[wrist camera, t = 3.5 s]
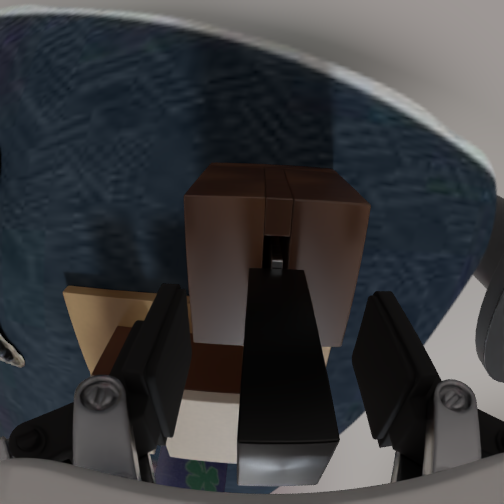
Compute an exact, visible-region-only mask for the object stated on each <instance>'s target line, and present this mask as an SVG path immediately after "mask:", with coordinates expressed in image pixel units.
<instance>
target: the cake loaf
mask: <svg viewBox="0 0 504 504" xmlns="http://www.w3.org/2000/svg"><path fill="white" fill-rule="evenodd" d="M190 338H191V347H192V358H191V363H190V367H189V371H188V375H187V379H186V384H185V388H184V392H183V396H182V401H181V405H180V409H179V414H178V418H177V423H176V427H175V432H174V436H173V437H172V438H169V437H167V441H166V447H167V450H168V453H169V455H170V457H175V458H182V459H190V460H199V461H209V462H220V463H235V464H237V431H238V416H239V402H240V387H241V373H242V359H243V346H242V345H224V344H208V343H195V342H193V333H190Z"/></svg>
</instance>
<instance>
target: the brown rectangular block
mask: <svg viewBox="0 0 504 504" xmlns="http://www.w3.org/2000/svg"><path fill="white" fill-rule="evenodd" d="M131 328H132V327H124V326H117V327H116V329H115V331H114V333H113V335H112V336H111V338H110V340H109V342H108V344H107V346H106V347H105V349H104V351H103V353H102V355H101V357H100V359H99V361H98V362H97V364H96V366H95V368H94V370H93V372H92V374H91V376H95V375H109V374H110V372H111V370H112V367H113V365H114V363H115V361H116V359H117V357H118V355H119V353H120V351H121V349H122V347H123V345H124V343H125V340H126V338H127V336H128V334H129V332H130V330H131ZM91 376H90V377H91ZM155 450H156V449H154V450H153V451H151V452H150V454H155Z"/></svg>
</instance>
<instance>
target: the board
mask: <svg viewBox="0 0 504 504" xmlns="http://www.w3.org/2000/svg"><path fill="white" fill-rule="evenodd" d="M63 295H64V299H65V302H66V305H67V309H68V312H69V315H70V318H71V321H72V324H73V327H74V330H75V333H76V336H77V339H78V342H79V345H80V347H81V350H82V353H83V355H84V358H85V361H86V363H87V366H88V368H89V371H90V373H91V374H92V372H93V370H94V368H95V366H96V364H97V362H98V361H99V359H100V357H101V355H102V353H103V351H104V349H105V347H106V346H107V344H108V342H109V340H110V338H111V336H112V335H113V333H114V331H115V329H116V327H117V326H124V327H132V326H133V324H134V323H135V321H137V320H143V321H144V320H145V317H146V315H147V313H148V311H149V309H150V307H151V305H152V303H153V301H154V299H155V297H156V295H157V293H144V292H131V291H120V290H109V289H98V288H88V287H78V286H67V288H66V289H65V290H64V291H63ZM187 307H188V318H189V328H190V333H192V323H191V312H190V299H189V296H187ZM330 348H331V347H322V351H323V356H324V360H325V365H326V364H327V360H328V356H329V352H330Z"/></svg>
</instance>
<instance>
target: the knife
mask: <svg viewBox="0 0 504 504" xmlns="http://www.w3.org/2000/svg"><path fill="white" fill-rule="evenodd" d="M265 261H266V268H249V274H248V288H247V302H246V316H245V330H244V344H243V359H242V373H241V387H240V402H239V416H238V431H237V484H238V485H246V486H300V485H316V484H317V483H318V482H319V480H320V478H321V476H322V474H323V472H324V470H325V469H326V467H327V465H328V463H329V461H330V459H331V457H332V455H333V453H334V451H335V449H336V447H337V445H338V443H339V440H340V438H339V433H338V427H337V422H336V416H335V411H334V406H333V400H332V395H331V390H330V385H329V380H328V375H327V370H326V365H325V360H324V356H323V351H322V346H321V342H320V337H319V332H318V328H317V323H316V319H315V314H314V310H313V305H312V301H311V297H310V292H309V288H308V284H307V280H306V276H305V271H304V270H295V269H282V266H283V258H282V251H281V243H280V236H266V247H265Z"/></svg>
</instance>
